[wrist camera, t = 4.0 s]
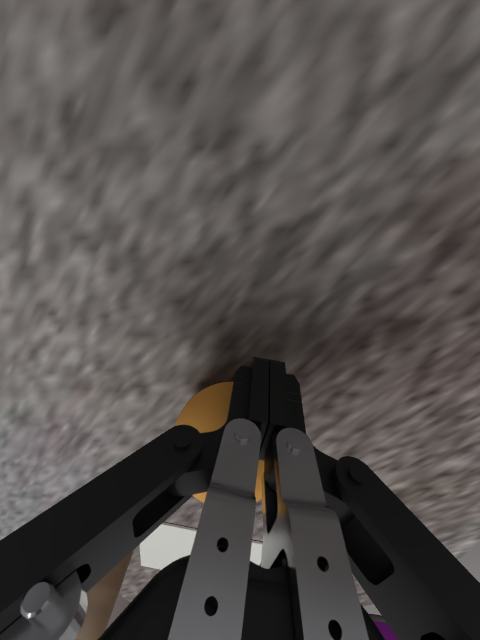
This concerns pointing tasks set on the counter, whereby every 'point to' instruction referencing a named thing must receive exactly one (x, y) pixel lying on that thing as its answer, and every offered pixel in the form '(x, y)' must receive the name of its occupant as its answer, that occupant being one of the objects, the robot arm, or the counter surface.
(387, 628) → the beverage can
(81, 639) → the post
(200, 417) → the ball
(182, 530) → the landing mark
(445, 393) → the counter surface
